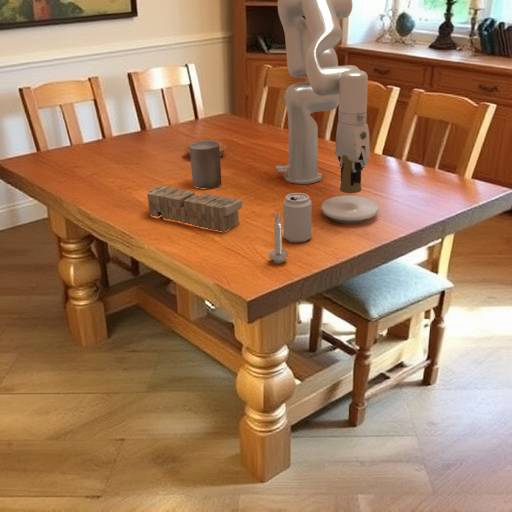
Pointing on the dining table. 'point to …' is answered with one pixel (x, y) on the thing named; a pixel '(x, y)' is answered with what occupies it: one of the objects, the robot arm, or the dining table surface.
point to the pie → (221, 146)
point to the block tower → (194, 208)
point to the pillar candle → (205, 164)
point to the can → (297, 217)
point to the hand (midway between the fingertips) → (350, 182)
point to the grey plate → (349, 209)
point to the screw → (278, 243)
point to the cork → (348, 177)
